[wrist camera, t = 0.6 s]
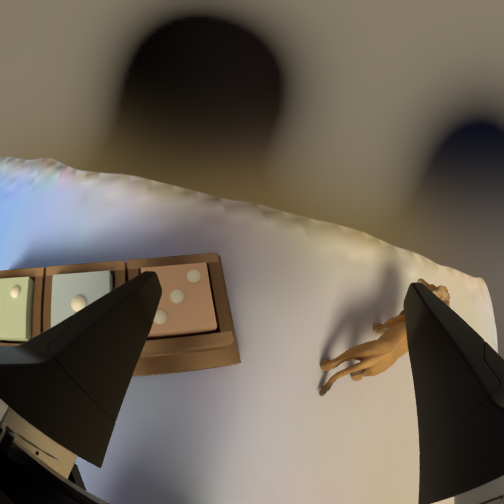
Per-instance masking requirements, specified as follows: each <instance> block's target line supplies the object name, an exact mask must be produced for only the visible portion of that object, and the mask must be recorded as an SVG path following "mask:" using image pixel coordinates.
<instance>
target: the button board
mask: <svg viewBox="0 0 504 504" xmlns="http://www.w3.org/2000/svg"><path fill="white" fill-rule="evenodd" d="M205 262H206V264H207V270H208V277H209V283H210V289H211V295H212V301H213V306H214V312H215V318H216V323H217V328H216V330H215V332H214V333H207V334H199V335H191V336H182V337H172V338H162V339H151V340H149V338H147V340H146V343H145V345H144V347H143V350H142V352H141V355H140V357H139V360H138V362H137V365H136V368H135V370H134V373H133V375H132V376H145V375H157V374H168V373H178V372H186V371H194V370H202V369H209V368H216V367H222V366H228V365H234V364H238V363H241V360H240V355H239V351H238V346H237V341H236V336H235V331H234V327H233V322H232V317H231V312H230V306H229V301H228V296H227V291H226V286H225V280H224V275H223V269H222V264H221V258H220V255H217V253H208V254H195V255H183V256H171V257H159V258H146V259H134V260H128V263H125V260H122V261H110V262H98V263H86V264H74V265H62V266H50V267H47V268H46V269H45V268H44V267H39V268H27V269H15V270H4V271H0V279H4V278H18V277H30V278H31V279H32V280H33V281H34V282H35V286H34V300H33V338H34V337H35V336H37V335H39V334H41V333H43V332H44V331H46V330H48V329H50V328H51V296H52V280H53V275H58V274H71V273H84V272H97V271H110V273H111V274H112V276H113V278H114V280H115V288H117V287H119V286H120V285H122V284H124V283H126V282H127V281H129V280H131V279H132V278H134V277H136V276H137V275H139V274H141V268H146V267H158V266H170V265H182V264H194V263H205ZM20 344H23V343H8V342H0V345H2V346H17V345H20Z"/></svg>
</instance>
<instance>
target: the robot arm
mask: <svg viewBox="0 0 504 504" xmlns="http://www.w3.org/2000/svg"><path fill="white" fill-rule="evenodd" d="M161 296H162V287H161V284H160V281H159V278H158V275H157V273H156V272H154V271H144V272H143V273H141V274H139V275H137V276H136V277H134V278H132V279H131V280H129V281H127V282H126V283H124V284H122V285H120V286H119V287H117V288H115V289H114V290H112V291H110V292H109V293H107V294H105V295H104V296H102V297H101V298H99V299H97V300H96V301H94V302H92V303H91V304H89V305H87V306H86V307H84V308H83V309H81V310H79V311H78V312H76V313H75V314H74V315H71V316H70V317H68V318H67V319H65V320H63V321H62V322H60V323H58V324H57V325H55V326H53V327H52V328H50V329H48V330H46V331H44V332H43V333H41V334H39V335H37V336H35V337H34V338H32V339H30V340H28V341H26V342H25V343H23V344H20V345H17V346H2V345H0V504H109V503H107V502H105V501H103V500H101V499H99V498H97V497H96V496H94V495H92V494H90V493H89V492H87V491H86V488H85V486H84V483H83V481H82V478H81V475H80V472H79V470H78V467H77V465H76V464H74V463H75V461H76V458H77V456H79V457H81V458H82V459H84V460H86V461H88V462H90V463H92V464H93V465H95V466H97V467H99V468H101V466H102V463H103V460H104V457H105V453H106V450H107V447H108V444H109V441H110V438H111V435H112V432H113V429H114V426H115V421H116V419H117V416H118V414H119V411H120V408H121V405H122V402H123V399H124V397H125V394H126V391H127V389H128V386H129V383H130V381H131V378H132V375H133V373H134V370H135V368H136V365H137V362H138V360H139V357H140V355H141V352H142V350H143V347H144V345H145V343H146V340H147V338H148V335H149V333H150V330H151V328H152V325H153V322H154V318H155V315H156V312H157V308H158V305H159V302H160V299H161ZM404 315H405V324H406V334H407V345H408V351H409V356H410V362H411V368H412V375H413V381H414V389H415V397H416V406H417V416H418V429H419V449H420V481H419V503H418V504H431V503H434V502H438V501H441V500H444V499H447V498H450V497H453V496H454V504H504V359H502V358H501V357H500V356H499V354H498V353H497V352H496V351H495V350H494V349H493V348H492V347H491V346H490V345H489V344H488V343H487V342H484V339H483V338H482V337H481V336H480V335H479V334H478V333H476V332H475V331H474V330H473V329H472V328H471V327H470V326H469V325H468V324H467V323H466V322H465V321H464V320H463V319H462V318H461V317H460V316H459V315H458V314H456V313H455V312H454V311H453V310H452V309H451V308H450V307H449V306H448V305H447V304H445V303H444V302H443V301H442V300H441V299H440V298H439V297H438V296H436V295H435V294H434V293H433V292H432V291H431V290H429V289H428V288H427V287H426V286H425V285H424V284H422V283H411V284H410V286H409V288H408V291H407V294H406V297H405V300H404Z"/></svg>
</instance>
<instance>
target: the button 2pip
mask: <svg viewBox="0 0 504 504" xmlns="http://www.w3.org/2000/svg"><path fill="white" fill-rule="evenodd" d="M34 286H35V282H34V281H33V280H32V279H31V278H30V277H18V278H4V279H0V342H8V343H25V342H26V341H28V340H30V339H32V338H33V300H34Z"/></svg>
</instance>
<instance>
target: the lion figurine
mask: <svg viewBox="0 0 504 504" xmlns="http://www.w3.org/2000/svg"><path fill="white" fill-rule="evenodd" d="M417 283H422V284H424V285H425V286H426V287H427V288H428V289H429V290H431V291H432V292H433V293H434V294H435V295H436V296H438V297H439V298H440V299H441V300H442V301H443V302H444V303H445V304H447V305H448V306H449V299H450V296H449V293H448V290H447V288H446V287H445V286H438V287H436V286H435V285H433V284H431V285H430V284H428V283H427V282H425V281H424V280H423V279H418V282H417ZM374 332H375V333H376V334H377V335H382V334H383V335H382V336H381V337H380V338H379V339H378V340H374V341H370V342H366V343H363V344H361V345H357V346H355V347H353V348H351V349H349V350H347V351H346V352H344V353H343V354H341V355H340V356H338V357H337V358H335V359H332V360H323V361H322V362H321V364H320V366H321V369H322V370H323V371H328V370H330V369H333V368H335V367H337V366H338V365H340V364H341V363H343V362H345V361H350V360H360V361H361V362H359V363H357V364H355V365H352V366H350V367H348V368H346V369H343V370H341V371H339V372H337V373H336V374H335V375H333V376H332V377H331V378H330V379H329V381H328V382H327V383H326V384H325V385H324V386H322V387H321V390H320V392H319V394H320V396H323V395H324V394H325V393H326V392H327V391H328V390H329V389H330V388H331V386H332V384H333V383H334V382H335V381H336V380H337V379H338V378H340V377H342V376H344V375H346V374H349V373H352V372H353V373H352V375H351V377H352V379H353V380H354V381H358V380H361V378H362V377H364V376H375V375H377V374H379V373H381V372H383V371H385V370H387V369H388V368H389V367H390V366H391V365H393V364H394V363H395V362H396V360H397V359H398V358H399V357H400V356H402V355H403V354H405V353H406V352H408V345H407V334H406V324H405V315H404V310H403V311H402V312H401V313H400V314H399V315H398V316H396V317H393V318H391V319H389V320H388V321H387V322H386V323H384V324H383V325H382V324H380V323H375V324H374Z"/></svg>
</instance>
